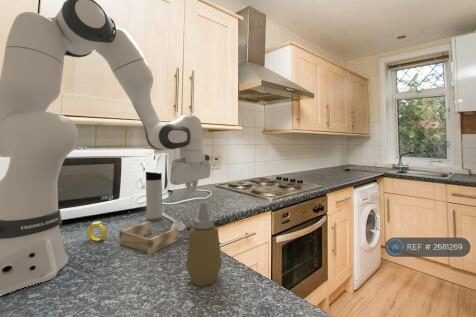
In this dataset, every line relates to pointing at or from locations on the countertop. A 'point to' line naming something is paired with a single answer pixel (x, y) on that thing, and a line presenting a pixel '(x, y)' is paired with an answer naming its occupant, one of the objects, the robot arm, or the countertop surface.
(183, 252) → the countertop surface
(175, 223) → the pale pinkish lump
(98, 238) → the watch
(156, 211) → the travel mug
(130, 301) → the countertop surface
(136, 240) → the box
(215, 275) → the squeeze bottle
